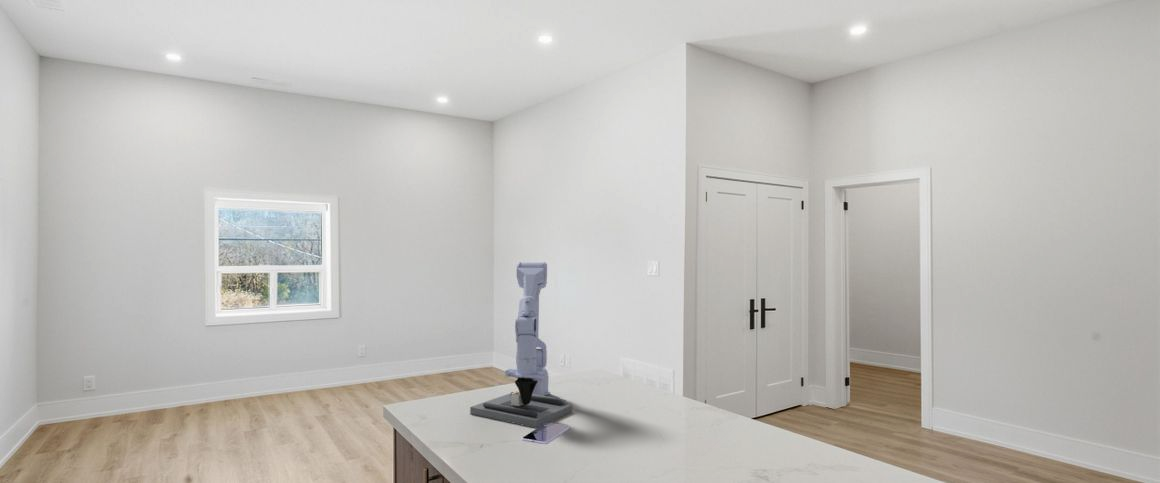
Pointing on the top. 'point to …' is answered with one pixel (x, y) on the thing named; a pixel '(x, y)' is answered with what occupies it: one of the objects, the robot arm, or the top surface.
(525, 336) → the robot arm
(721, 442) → the top surface
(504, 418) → the panel
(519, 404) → the white orange striped block
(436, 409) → the top surface
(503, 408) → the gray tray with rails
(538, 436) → the mobile phone
